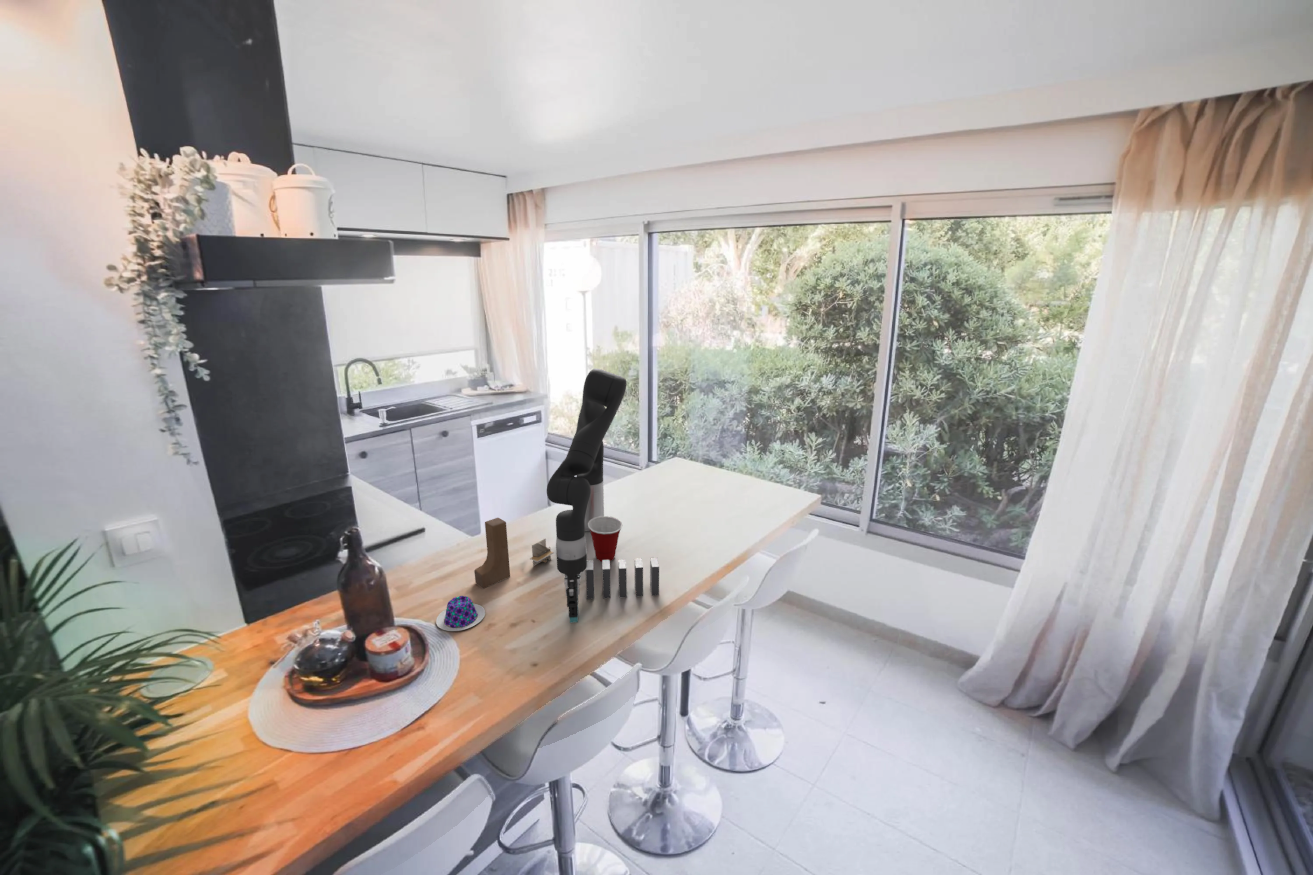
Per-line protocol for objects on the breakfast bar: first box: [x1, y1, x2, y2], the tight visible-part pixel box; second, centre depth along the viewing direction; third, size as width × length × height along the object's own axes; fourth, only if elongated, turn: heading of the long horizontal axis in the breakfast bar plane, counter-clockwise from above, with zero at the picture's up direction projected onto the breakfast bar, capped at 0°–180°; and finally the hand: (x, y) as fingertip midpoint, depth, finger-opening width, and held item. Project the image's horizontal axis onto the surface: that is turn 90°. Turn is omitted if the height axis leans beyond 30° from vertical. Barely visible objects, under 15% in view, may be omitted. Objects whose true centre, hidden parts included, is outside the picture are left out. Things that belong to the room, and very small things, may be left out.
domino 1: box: [569, 604, 579, 624], centre depth 138 cm, size 2×5×9 cm, turn 6°
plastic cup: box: [588, 515, 623, 563], centre depth 167 cm, size 11×11×12 cm
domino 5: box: [634, 557, 644, 598], centre depth 150 cm, size 2×5×9 cm, turn 6°
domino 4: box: [617, 558, 628, 598], centre depth 149 cm, size 2×5×9 cm, turn 6°
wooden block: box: [473, 517, 511, 589], centre depth 153 cm, size 9×4×18 cm, turn 136°
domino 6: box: [649, 557, 660, 597], centre depth 150 cm, size 2×5×9 cm, turn 6°
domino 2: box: [585, 560, 595, 600], centre depth 148 cm, size 2×5×9 cm, turn 6°
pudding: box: [435, 595, 486, 632], centre depth 138 cm, size 12×12×5 cm
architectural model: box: [529, 538, 554, 567], centre depth 164 cm, size 3×7×7 cm, turn 145°
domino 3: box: [601, 560, 611, 599], centre depth 149 cm, size 2×5×9 cm, turn 6°
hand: (573, 609), depth 139 cm, fingers closed on domino 1, 5 cm apart
